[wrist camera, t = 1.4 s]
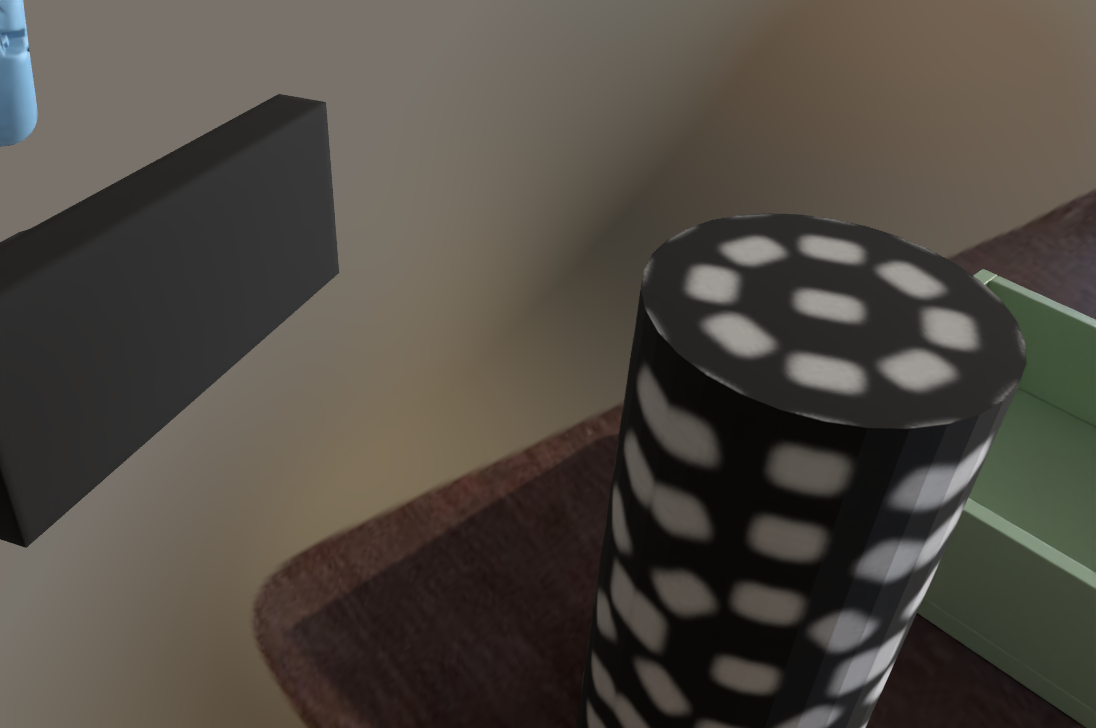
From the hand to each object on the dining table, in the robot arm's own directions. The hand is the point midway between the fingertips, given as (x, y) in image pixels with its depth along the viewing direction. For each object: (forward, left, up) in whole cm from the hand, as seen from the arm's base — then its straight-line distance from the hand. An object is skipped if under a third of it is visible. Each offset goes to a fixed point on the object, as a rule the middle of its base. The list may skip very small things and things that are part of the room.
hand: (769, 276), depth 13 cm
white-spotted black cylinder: (-3, +8, -25) cm, 26 cm away
